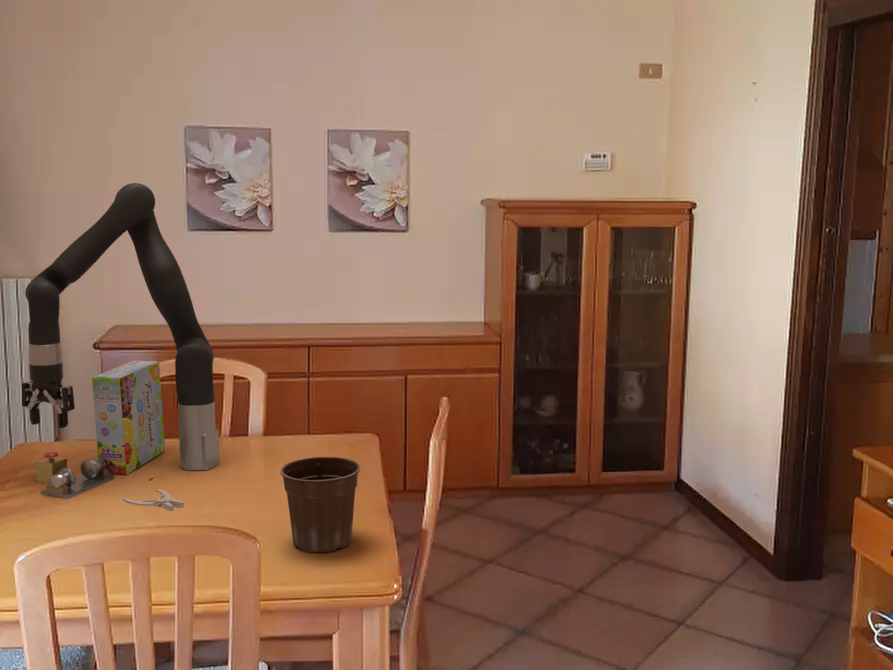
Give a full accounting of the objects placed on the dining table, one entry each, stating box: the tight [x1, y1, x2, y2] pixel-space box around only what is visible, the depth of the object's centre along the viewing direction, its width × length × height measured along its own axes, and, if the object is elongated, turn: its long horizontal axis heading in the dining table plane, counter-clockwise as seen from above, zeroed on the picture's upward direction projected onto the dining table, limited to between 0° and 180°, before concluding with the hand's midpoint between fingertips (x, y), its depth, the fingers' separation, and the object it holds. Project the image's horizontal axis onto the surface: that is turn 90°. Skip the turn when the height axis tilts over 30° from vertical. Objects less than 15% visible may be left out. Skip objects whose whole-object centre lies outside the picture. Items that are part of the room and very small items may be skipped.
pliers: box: [122, 488, 184, 512], centre depth 215 cm, size 10×2×15 cm
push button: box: [35, 451, 68, 485], centre depth 229 cm, size 5×5×7 cm
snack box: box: [91, 360, 166, 476], centre depth 243 cm, size 22×9×26 cm, turn 171°
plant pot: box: [280, 456, 361, 553], centre depth 190 cm, size 16×16×16 cm
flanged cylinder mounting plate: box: [40, 457, 115, 499], centre depth 225 cm, size 16×8×6 cm, turn 160°
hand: (49, 425), depth 227 cm, fingers open, 8 cm apart
